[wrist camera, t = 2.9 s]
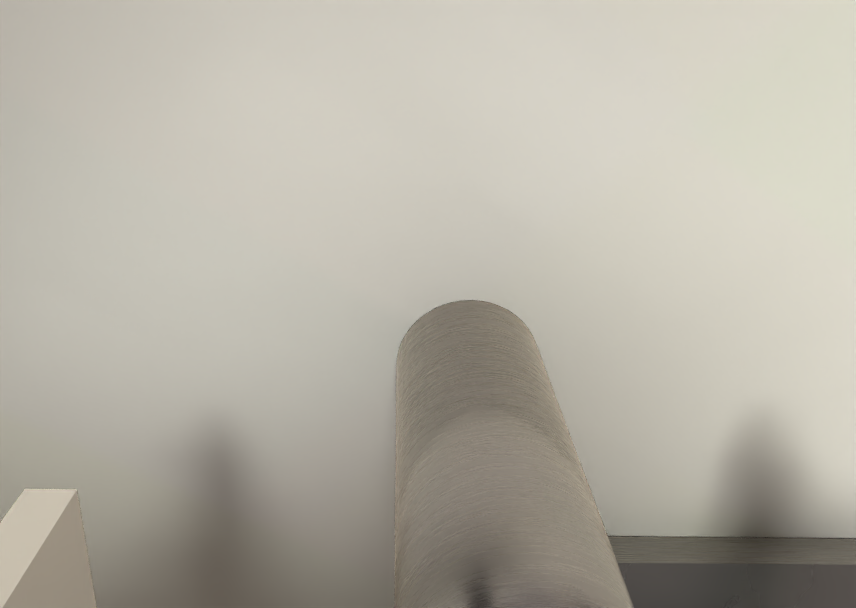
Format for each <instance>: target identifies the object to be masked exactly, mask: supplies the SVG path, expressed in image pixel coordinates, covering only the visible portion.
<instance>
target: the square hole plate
mask: <svg viewBox="0 0 856 608" xmlns="http://www.w3.org/2000/svg"><path fill="white" fill-rule="evenodd" d="M608 538H609V541H610V544H611V547H612V549H613V552H614V555H615V557H616V560H617V563H618V565H619V568H620V571H621V573H622V576H623V579H624V581H625V584H626V587H627V590H628V592H629V595H630V598H631V600H632V603H633V606H634V608H856V539H831V538H720V537H608Z"/></svg>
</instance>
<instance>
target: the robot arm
mask: <svg viewBox="0 0 856 608" xmlns="http://www.w3.org/2000/svg"><path fill="white" fill-rule="evenodd" d="M0 608H97V606H96V600H95V594H94V588H93V582H92V576H91V570H90V564H89V558H88V552H87V546H86V540H85V534H84V528H83V522H82V516H81V510H80V504H79V497H78V491H77V489H24V491H23V492H22V493H21V495H20V496H19V497H18V499H17V500H16V501H15V503H14V504H13V506H12V507H11V508H10V510H9V511H8V512H7V514H6V515H5V516H4V518H3V519H2V521H1V522H0Z"/></svg>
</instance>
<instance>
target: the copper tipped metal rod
mask: <svg viewBox="0 0 856 608" xmlns="http://www.w3.org/2000/svg"><path fill="white" fill-rule="evenodd" d="M394 608H634V606H633V603H632V600H631V598H630V595H629V592H628V590H627V587H626V584H625V581H624V579H623V576H622V573H621V571H620V568H619V565H618V563H617V560H616V557H615V555H614V552H613V549H612V547H611V544H610V541H609V538H608V536H607V533H606V530H605V528H604V525H603V522H602V520H601V517H600V514H599V512H598V509H597V506H596V504H595V501H594V498H593V495H592V493H591V490H590V487H589V485H588V482H587V479H586V477H585V474H584V471H583V469H582V466H581V463H580V461H579V458H578V455H577V452H576V450H575V447H574V444H573V442H572V439H571V436H570V434H569V431H568V428H567V426H566V423H565V420H564V418H563V415H562V412H561V409H560V407H559V404H558V401H557V399H556V396H555V393H554V391H553V388H552V385H551V383H550V380H549V377H548V375H547V372H546V369H545V366H544V364H543V361H542V358H541V356H540V353H539V350H538V348H537V345H536V342H535V340H534V338H533V335H532V334H531V332H530V330H529V329H528V327H527V326H526V325H525V324H524V323H523V321H522V320H520V319H519V318H518V317H517V316H516V315H515V314H513V313H512V312H510V311H509V310H507V309H505V308H503V307H501V306H498V305H495V304H493V303H489V302H484V301H476V300H464V301H457V302H451V303H448V304H444V305H442V306H439V307H437V308H435V309H433V310H431V311H429V312H428V313H426V314H425V315H423V316H422V317H421V318H420V319H418V320H417V321H416V322H415V323H414V324H413V325H412V327H411V328H410V329H409V330H408V332H407V333H406V335H405V337H404V338H403V340H402V343H401V345H400V347H399V351H398V355H397V363H396V467H395V589H394Z"/></svg>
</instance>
